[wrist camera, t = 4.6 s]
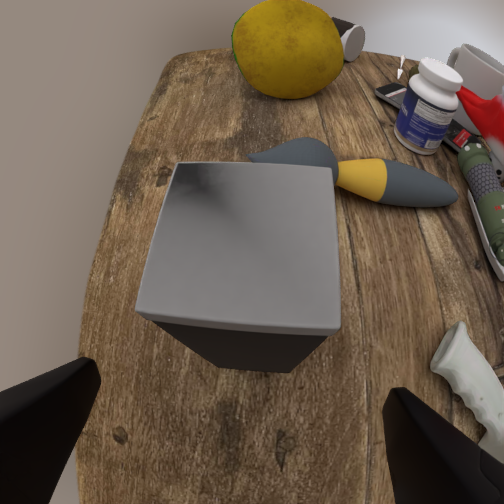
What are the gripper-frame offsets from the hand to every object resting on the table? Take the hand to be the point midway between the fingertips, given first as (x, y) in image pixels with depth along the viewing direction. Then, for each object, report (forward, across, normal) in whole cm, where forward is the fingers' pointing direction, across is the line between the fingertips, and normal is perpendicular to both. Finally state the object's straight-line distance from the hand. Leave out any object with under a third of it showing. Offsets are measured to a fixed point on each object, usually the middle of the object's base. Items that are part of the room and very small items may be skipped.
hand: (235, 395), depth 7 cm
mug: (+33, -28, -18) cm, 47 cm away
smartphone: (+25, -26, -11) cm, 38 cm away
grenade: (+23, -22, -11) cm, 33 cm away
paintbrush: (+20, -8, -4) cm, 22 cm away
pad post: (+10, 0, +5) cm, 11 cm away
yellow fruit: (+24, -3, -18) cm, 30 cm away
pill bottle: (+26, -16, -10) cm, 32 cm away
